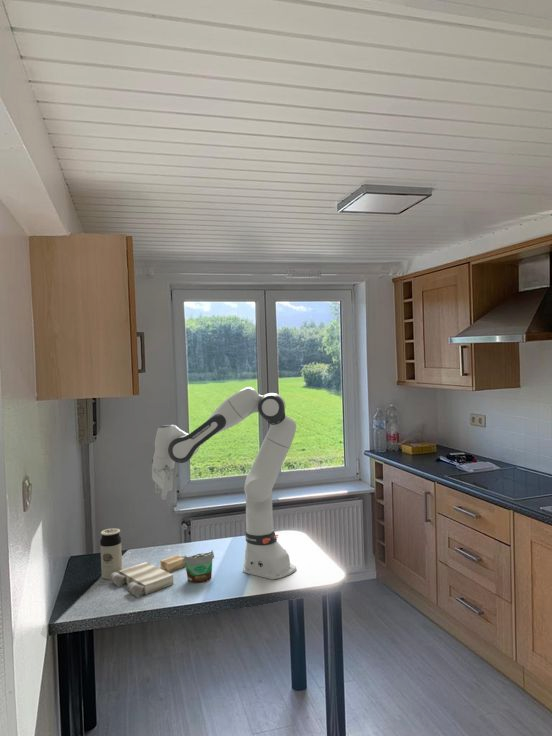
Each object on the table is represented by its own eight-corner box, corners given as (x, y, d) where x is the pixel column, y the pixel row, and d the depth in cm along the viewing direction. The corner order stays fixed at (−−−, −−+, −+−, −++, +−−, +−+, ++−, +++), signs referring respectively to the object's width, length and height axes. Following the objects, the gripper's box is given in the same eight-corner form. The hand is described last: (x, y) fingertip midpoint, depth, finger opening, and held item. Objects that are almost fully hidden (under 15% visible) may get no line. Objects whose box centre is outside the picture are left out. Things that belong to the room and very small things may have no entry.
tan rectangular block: (189, 565, 214) (188, 556, 214) (168, 572, 207) (168, 563, 207) (181, 561, 218) (180, 553, 218) (160, 568, 211) (160, 560, 211)
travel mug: (110, 570, 211) (108, 527, 211) (126, 572, 208) (124, 528, 208) (97, 578, 203) (95, 533, 203) (114, 580, 201) (112, 535, 200)
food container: (188, 587, 192) (188, 560, 192) (184, 581, 198) (183, 555, 198) (219, 579, 198) (218, 554, 198) (214, 574, 203) (213, 549, 203)
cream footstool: (173, 583, 196) (173, 574, 196) (135, 598, 184) (135, 588, 184) (146, 570, 210) (145, 561, 210) (109, 583, 199) (109, 573, 198)
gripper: (178, 468, 205) (174, 502, 205) (164, 458, 223) (161, 489, 223) (162, 468, 202) (159, 503, 202) (150, 458, 220) (147, 489, 220)
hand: (160, 496), depth 213 cm, fingers open, 8 cm apart
